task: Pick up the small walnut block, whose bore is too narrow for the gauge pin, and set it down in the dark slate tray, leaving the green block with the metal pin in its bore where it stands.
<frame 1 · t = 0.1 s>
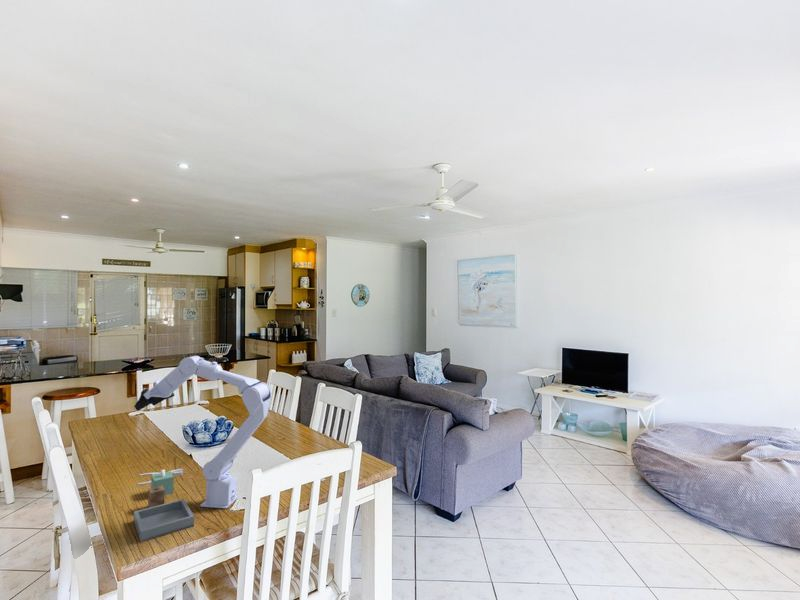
hand: (144, 405, 142), 32 cm above the table, tool tilted 50°, fingers open, 7 cm apart
pliers: (160, 478, 159), on the table
walnut block: (156, 507, 135), on the table
tray: (163, 523, 126), on the table
green block: (162, 492, 146), on the table
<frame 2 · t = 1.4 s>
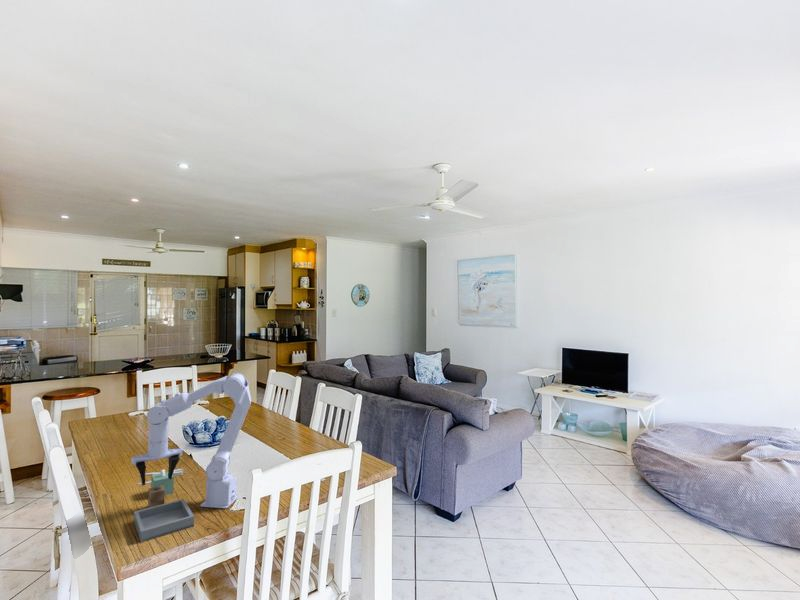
hand: (156, 481, 136), 9 cm above the table, tool pointing down, fingers open, 7 cm apart
nothing on the table moved.
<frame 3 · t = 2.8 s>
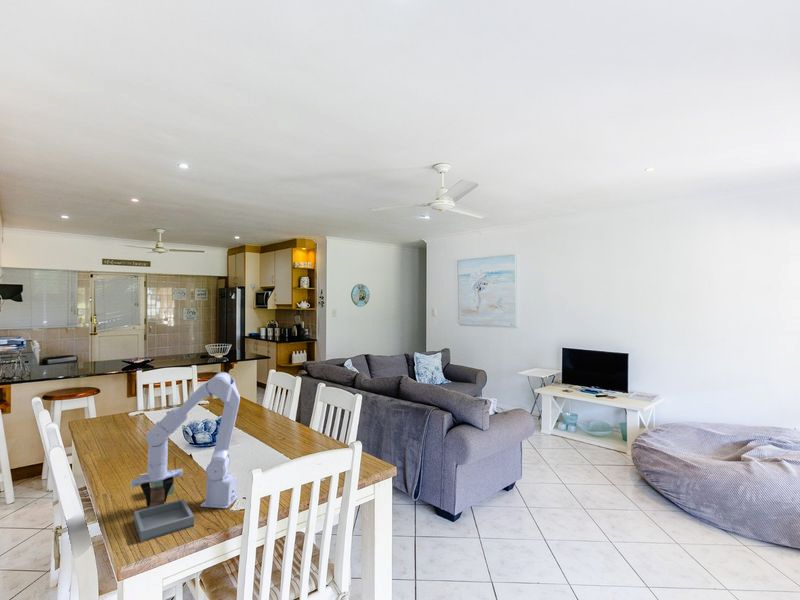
hand: (156, 502, 136), 1 cm above the table, tool pointing down, fingers closed on walnut block, 4 cm apart
walnut block: (156, 507, 135), on the table, touching gripper
everything else where it was.
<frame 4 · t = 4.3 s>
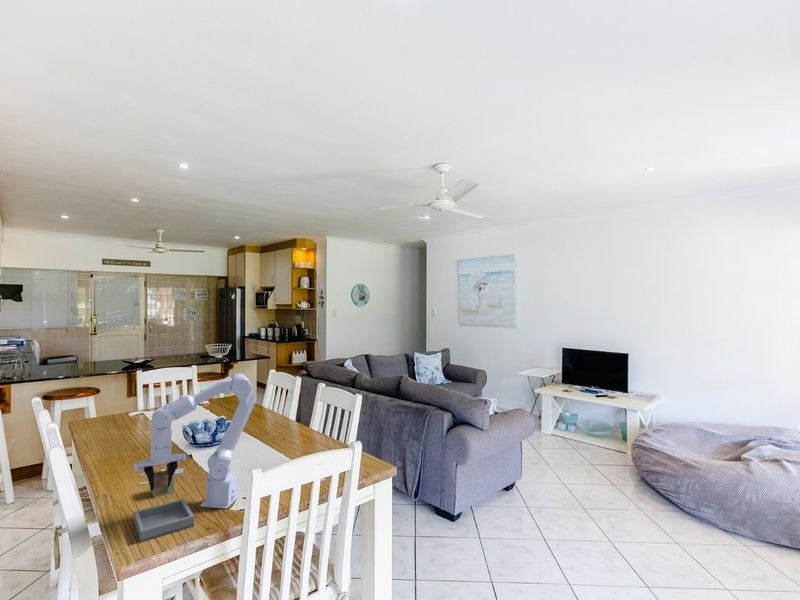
hand: (159, 487, 132), 8 cm above the table, tool pointing down, fingers closed on walnut block, 4 cm apart
walnut block: (159, 492, 132), point 7 cm above the table, touching gripper
everything else where it was.
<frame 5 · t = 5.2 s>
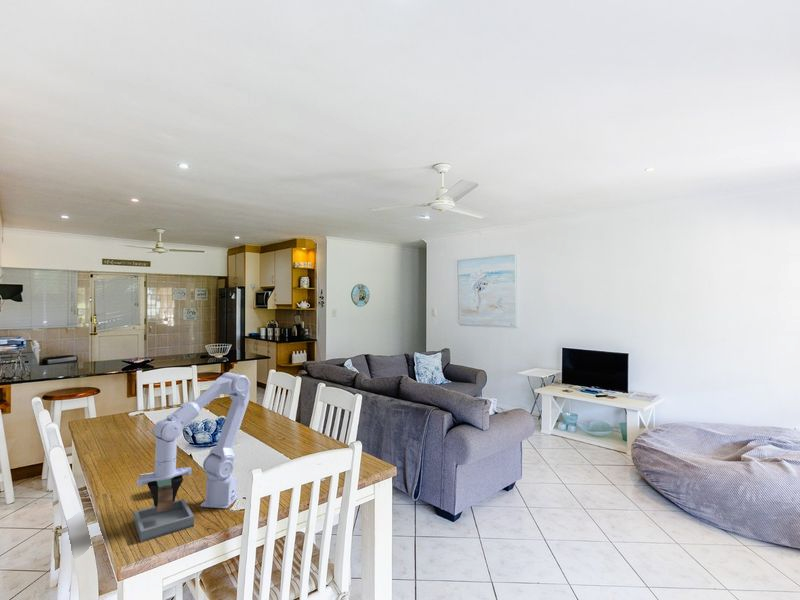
hand: (164, 503, 126), 6 cm above the table, tool pointing down, fingers closed on walnut block, 4 cm apart
walnut block: (163, 507, 126), point 5 cm above the table, touching gripper
everything else where it was.
when the fingers open (4 cm above the table, at t = 6.1 s): walnut block drops 1 cm, resting on tray.
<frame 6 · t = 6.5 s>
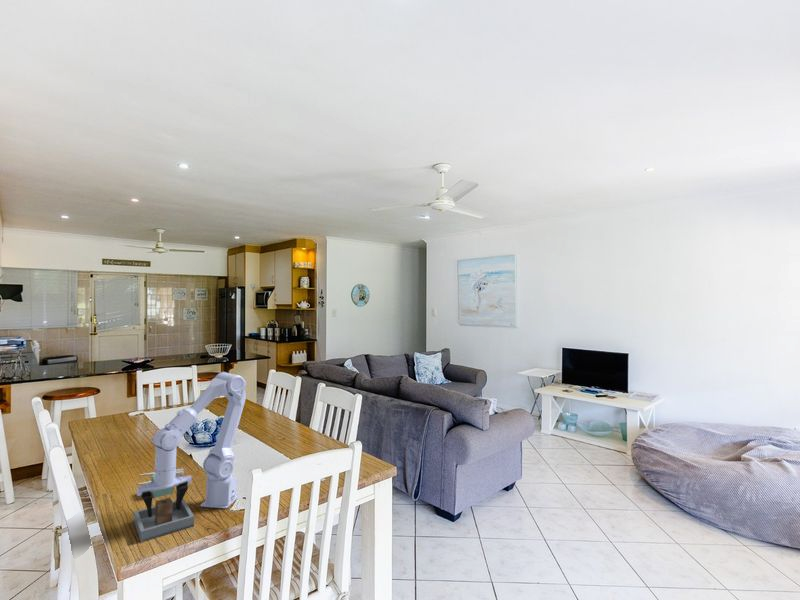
hand: (164, 512, 126), 4 cm above the table, tool pointing down, fingers open, 7 cm apart
walnut block: (163, 521, 126), point 1 cm above the table, touching tray
everything else where it was.
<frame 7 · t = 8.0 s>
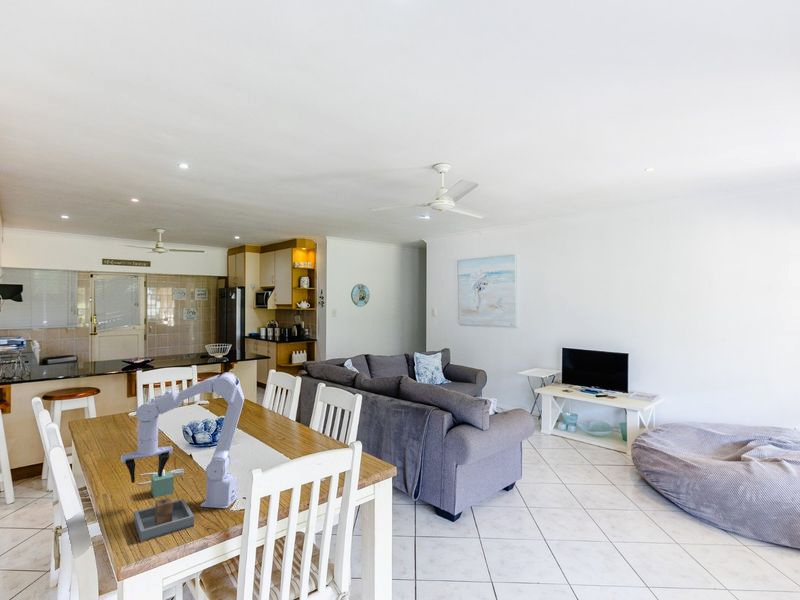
hand: (146, 478, 135), 9 cm above the table, tool pointing down, fingers open, 7 cm apart
nothing on the table moved.
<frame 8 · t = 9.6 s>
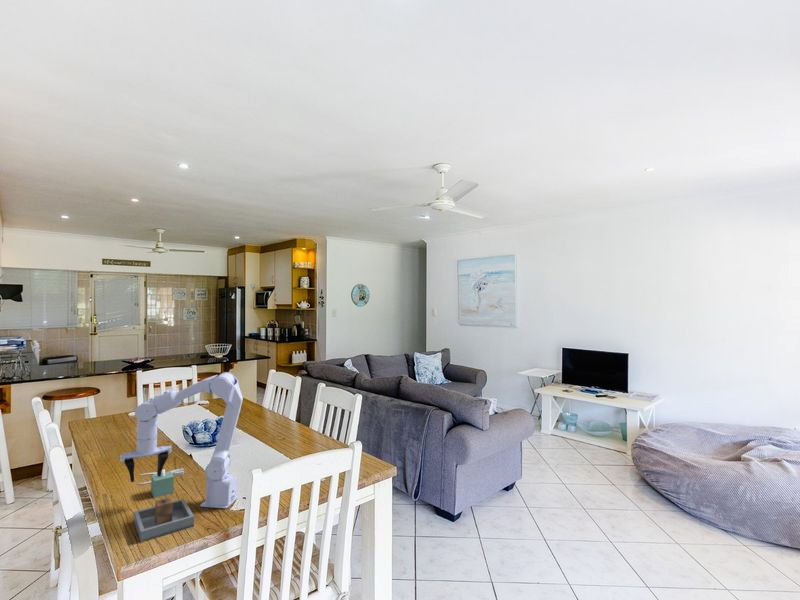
hand: (145, 478, 136), 9 cm above the table, tool pointing down, fingers open, 7 cm apart
nothing on the table moved.
at the end: walnut block inside the target area on the tray (0.4 cm from its centre), point 0.6 cm above the tray's base; walnut block tilted 0°; green block moved 0.1 cm from its start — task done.
